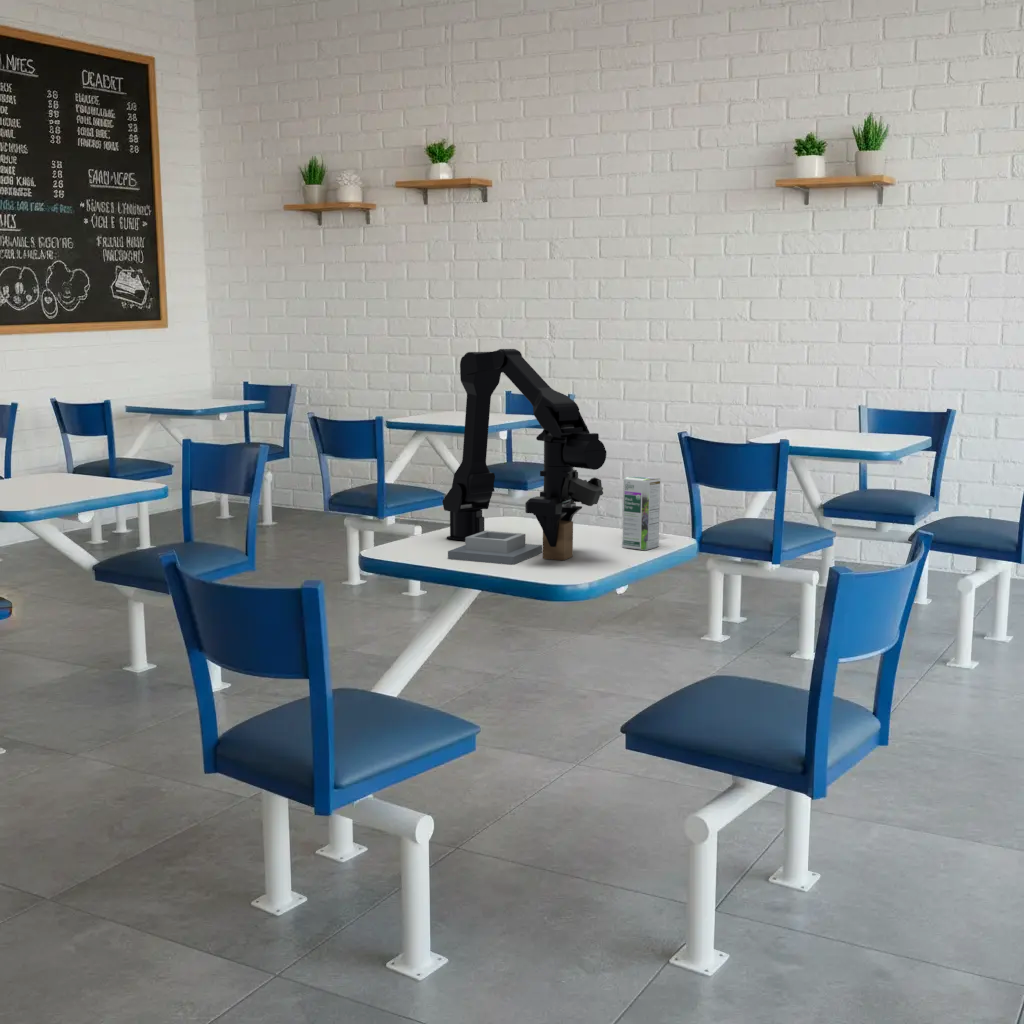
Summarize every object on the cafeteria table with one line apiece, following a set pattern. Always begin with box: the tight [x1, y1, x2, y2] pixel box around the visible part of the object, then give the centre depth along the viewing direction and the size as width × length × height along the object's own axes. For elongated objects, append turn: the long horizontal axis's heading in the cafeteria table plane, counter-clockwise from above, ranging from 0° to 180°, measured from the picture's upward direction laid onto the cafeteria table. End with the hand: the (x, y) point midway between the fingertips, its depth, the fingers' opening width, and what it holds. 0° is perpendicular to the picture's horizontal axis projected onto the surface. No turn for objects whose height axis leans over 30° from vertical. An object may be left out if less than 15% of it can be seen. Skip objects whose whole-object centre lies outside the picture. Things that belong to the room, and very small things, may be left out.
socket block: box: [447, 530, 543, 565], centre depth 240 cm, size 14×14×4 cm
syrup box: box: [621, 475, 661, 551], centre depth 249 cm, size 6×6×14 cm
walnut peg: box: [542, 520, 574, 561], centre depth 238 cm, size 4×4×7 cm
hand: (557, 544), depth 238 cm, fingers closed on walnut peg, 4 cm apart
